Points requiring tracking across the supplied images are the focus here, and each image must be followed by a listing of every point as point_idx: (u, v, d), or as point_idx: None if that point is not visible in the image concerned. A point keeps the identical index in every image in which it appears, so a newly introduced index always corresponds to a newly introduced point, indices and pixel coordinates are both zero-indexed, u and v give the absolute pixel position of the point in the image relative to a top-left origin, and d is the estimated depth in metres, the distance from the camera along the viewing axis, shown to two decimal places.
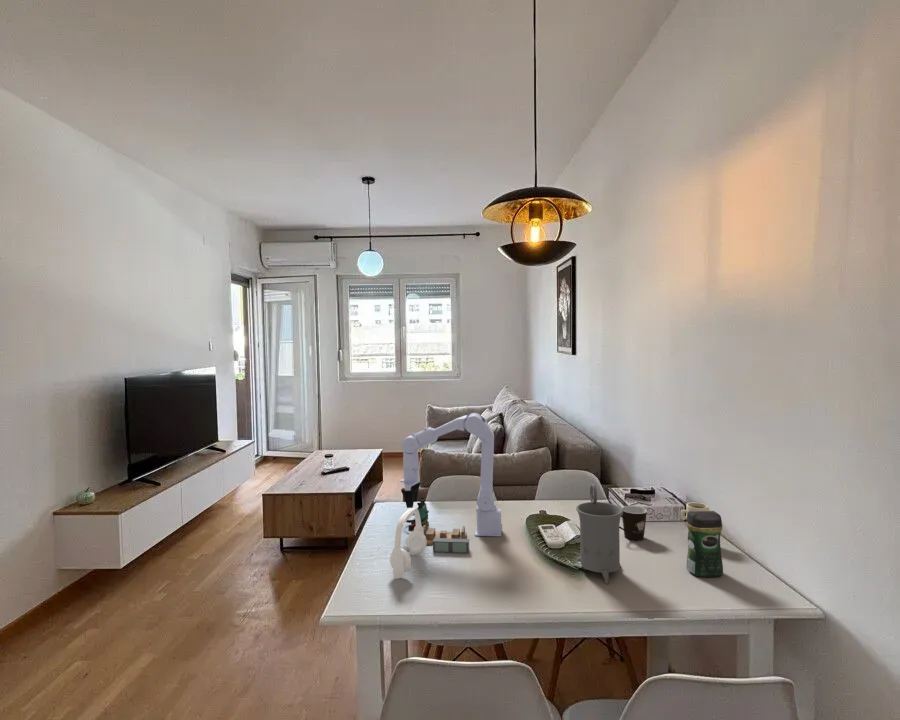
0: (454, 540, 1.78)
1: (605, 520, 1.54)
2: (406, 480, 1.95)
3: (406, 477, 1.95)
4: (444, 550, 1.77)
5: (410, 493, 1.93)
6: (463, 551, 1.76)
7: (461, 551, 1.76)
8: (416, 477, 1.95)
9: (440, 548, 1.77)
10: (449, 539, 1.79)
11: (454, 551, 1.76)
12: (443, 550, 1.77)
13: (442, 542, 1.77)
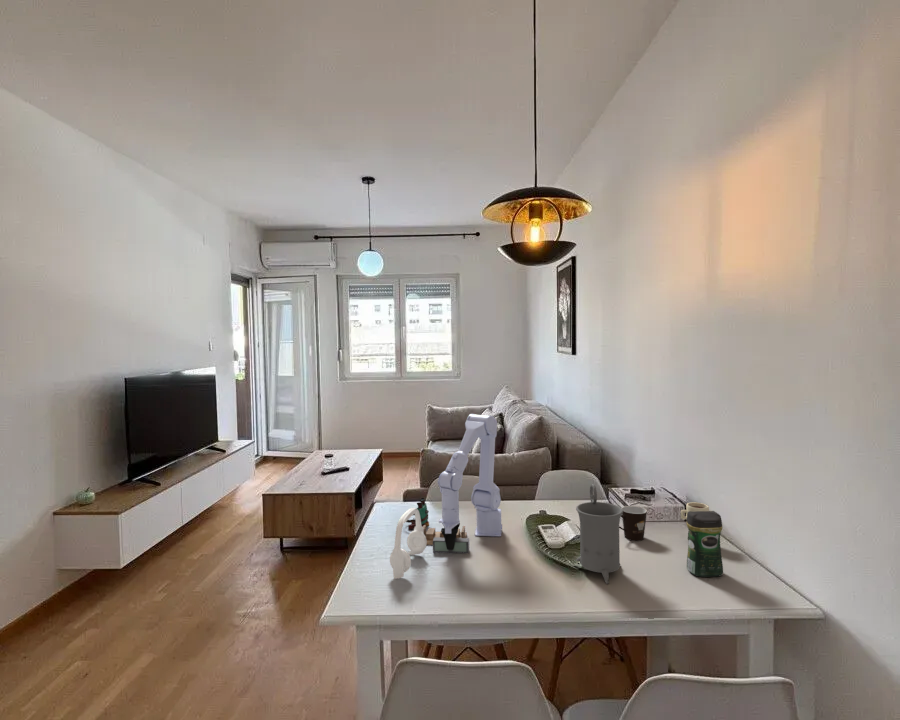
0: None
1: (605, 520, 1.54)
2: (445, 521, 1.75)
3: (445, 517, 1.75)
4: (444, 549, 1.77)
5: (451, 534, 1.75)
6: (463, 550, 1.76)
7: (461, 550, 1.76)
8: (456, 517, 1.76)
9: (440, 547, 1.77)
10: None
11: (454, 550, 1.76)
12: (443, 549, 1.77)
13: (442, 541, 1.77)
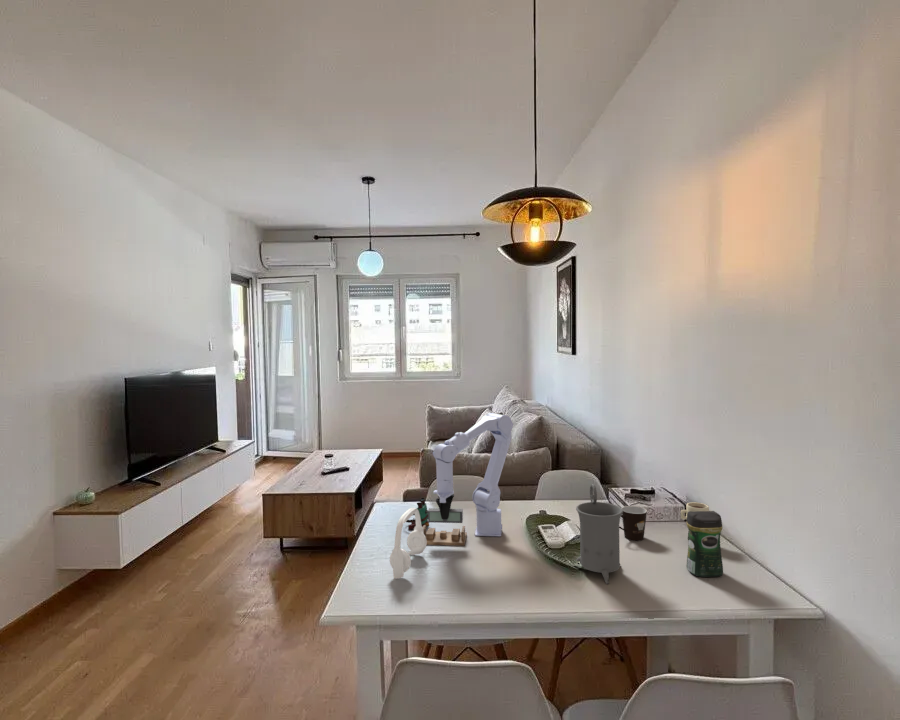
0: None
1: (605, 520, 1.54)
2: (440, 491, 1.82)
3: (440, 488, 1.82)
4: (439, 519, 1.83)
5: (445, 504, 1.82)
6: (457, 520, 1.83)
7: (455, 520, 1.83)
8: (450, 488, 1.82)
9: (435, 517, 1.83)
10: None
11: (448, 520, 1.83)
12: (438, 519, 1.83)
13: (437, 512, 1.84)
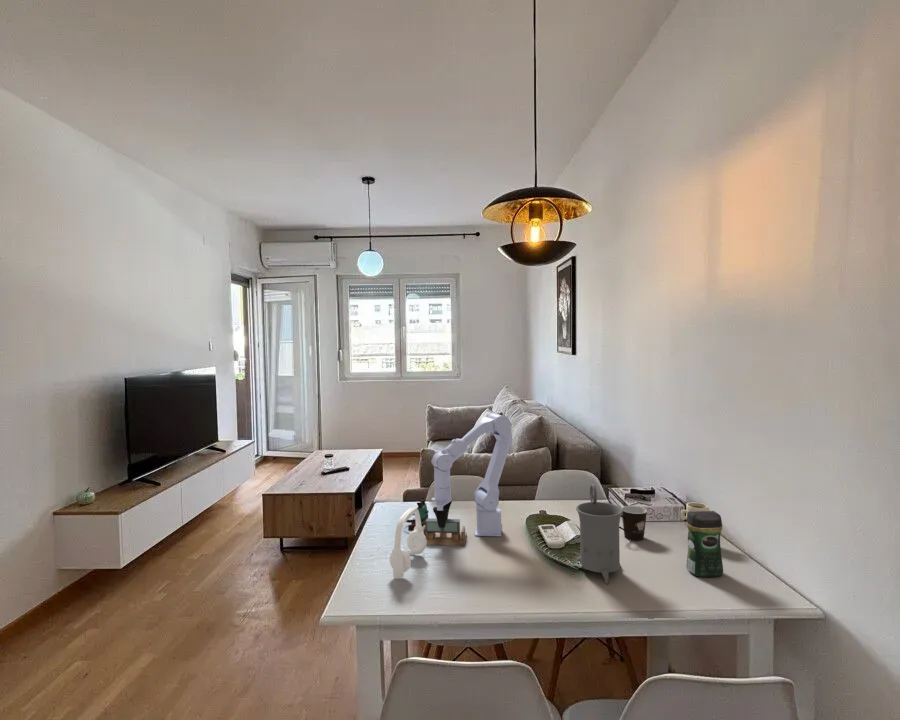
0: (446, 520, 1.88)
1: (605, 520, 1.54)
2: (437, 499, 1.86)
3: (437, 496, 1.86)
4: (436, 529, 1.87)
5: (442, 512, 1.84)
6: (454, 530, 1.86)
7: (452, 530, 1.86)
8: (448, 496, 1.86)
9: (432, 527, 1.87)
10: None
11: (446, 530, 1.87)
12: (435, 529, 1.87)
13: (434, 522, 1.87)
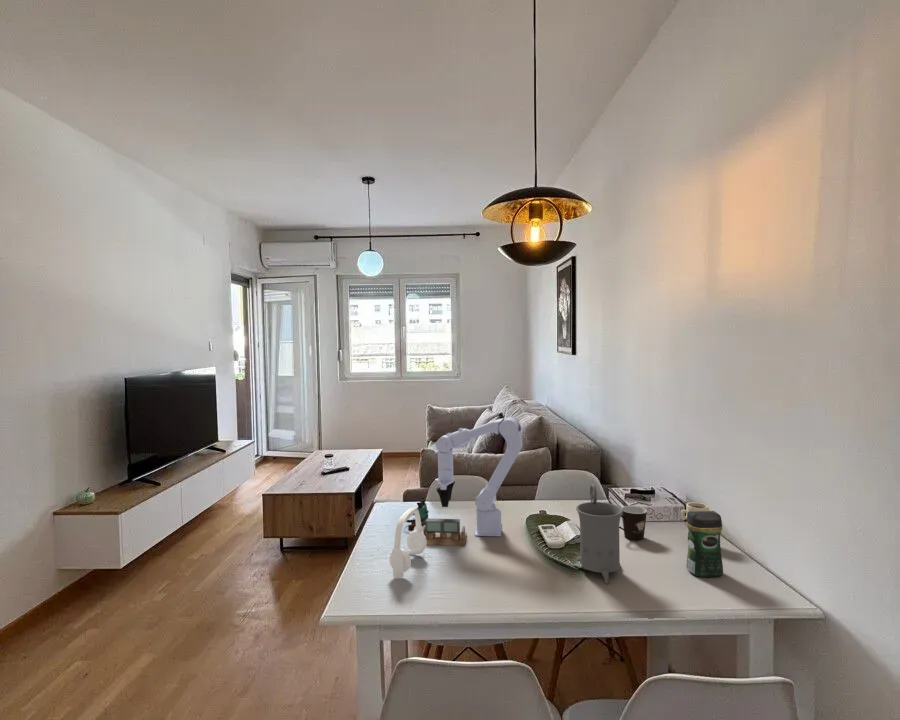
0: (446, 520, 1.88)
1: (605, 520, 1.54)
2: (441, 479, 1.95)
3: (441, 476, 1.95)
4: (436, 529, 1.87)
5: (445, 492, 1.94)
6: (454, 530, 1.86)
7: (452, 530, 1.86)
8: (451, 476, 1.96)
9: (432, 527, 1.87)
10: (441, 519, 1.89)
11: (446, 530, 1.87)
12: (435, 529, 1.87)
13: (434, 522, 1.87)
